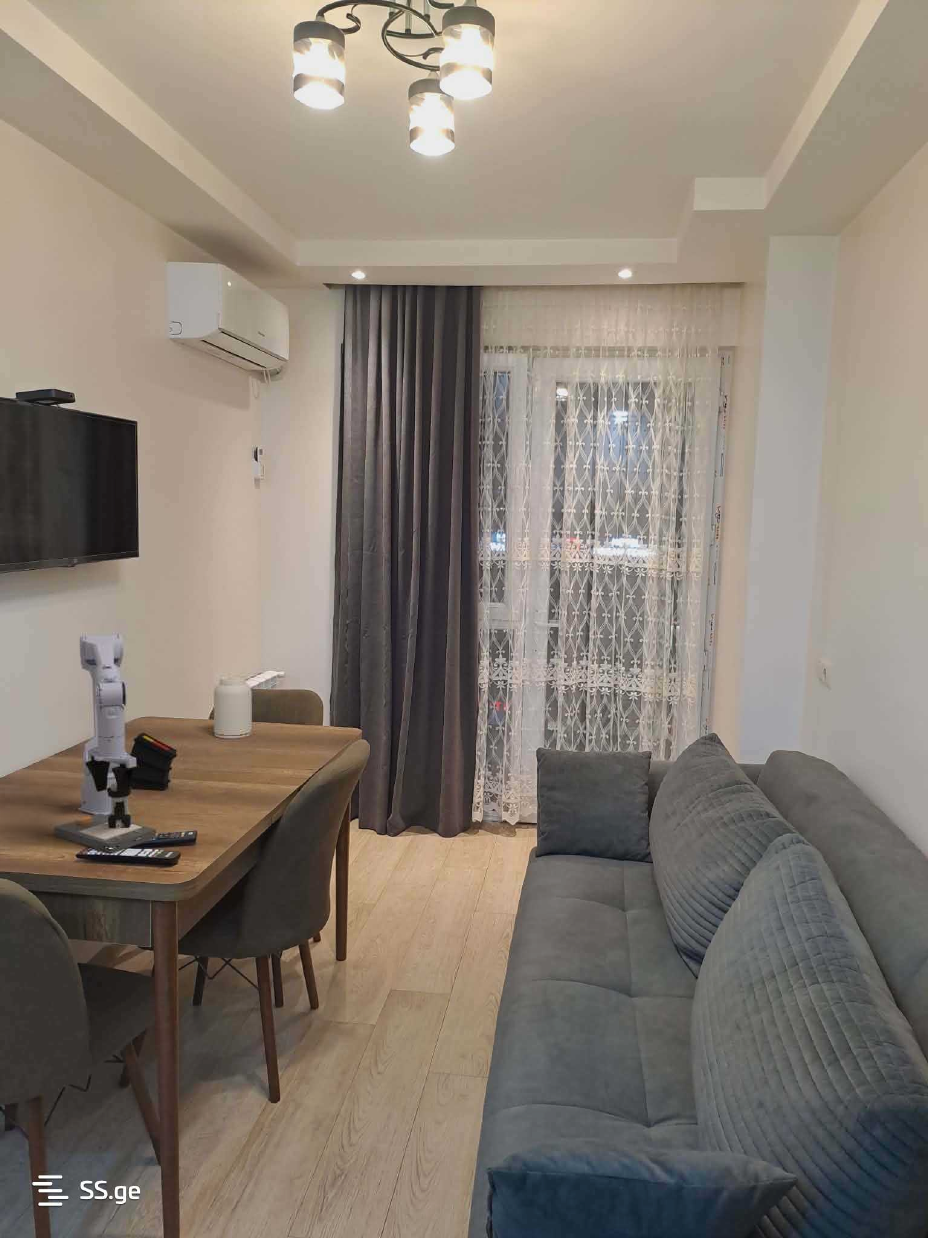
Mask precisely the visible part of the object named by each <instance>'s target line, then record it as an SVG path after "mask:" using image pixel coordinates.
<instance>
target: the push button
mask: <svg viewBox="0 0 928 1238" xmlns="http://www.w3.org/2000/svg"><path fill="white" fill-rule="evenodd" d="M132 790H133V789H132V787H131V786H130V789H129V793H128V796H125V797H122V798H120V797H118V793H117V784H116V783H113V784H111V787H109V788H107V792H108V796H109V797H111V812H110V814H109V815H108V816H109V818H108V820H102V821H101V822H108V824H102V825H101V826H109V828H129V827H130V825H131V822H132V814H131V813H130V811H129V808H128V807H129V804H128V803H129V796H130V795H131V794H132ZM115 799H116V801H115Z"/></svg>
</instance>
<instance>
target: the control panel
mask: <svg viewBox="0 0 928 1238" xmlns="http://www.w3.org/2000/svg"><path fill="white" fill-rule="evenodd" d="M109 816H110V815H104V814H100V813H99V814H96V815H94V814H92V815H89V816H88V815H87V816H83V817H80V818H77V819H75V820H74V821H70V822H67V823H64V824H63V823H62V824H59V825H56V826H54V827H53V828H54V836H55V837H58V838H61V839H65V840H68V841H71V842H74V843H76V844H80V845H82V846H86V847H89V848H93V849H95V850H97V851H101V852H104V853H108V854H114V853H117V852H119V851H122V850H126V849H129V848H132V847H134V846H136V845H140V844H143V843H145V842H148V841H151V840H153V839H156V838H157V830H156V828H152V827H149V826H145V825H141V824H138V823H136V822H135V823H134V822H132V821H131V825H130V827H129V828H109V826H101V825H102V824H108V822H101V821H102V820H108V818H109ZM138 838H142V839H139V840H136V839H138ZM134 840H136V841H134ZM132 841H133V842H132ZM96 844H101V845H103V846H107V847H116V846H119V847H116V848H113V849H109V848H106V847H103V846H99V845H96Z"/></svg>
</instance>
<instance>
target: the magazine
mask: <svg viewBox="0 0 928 1238" xmlns="http://www.w3.org/2000/svg"><path fill="white" fill-rule="evenodd" d="M133 742H134V744H133V746H132V748H131V752H130V753H129V755H130V756H132V757H134V758H136V765H138V769H137V771H136V773H135V774H134V776H133V779H132V782H131V785H130V786H131V787H132V790H148V791H150V790H151V791H165V790H167V789H168V788H169V784H170V783H171V781H172V779H169V778H170V777H169V776H170V771H172V769H173V767H171V765H172V763H173V761H174V759H175V758H177V756H178V754H177V752H178V750H177V749H176V748H173V747H172V746H169V745H168V744H165V743H164V742H162V741H160V740H158V739H157V738H154V737H152V736H151V735H148V733H145V732H141V733H139V734H137V736H136V737H135V738H134V739H133Z"/></svg>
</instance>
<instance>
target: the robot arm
mask: <svg viewBox="0 0 928 1238" xmlns="http://www.w3.org/2000/svg"><path fill="white" fill-rule="evenodd" d="M79 656H80V665H81V669H82V670H85V671H88V672H89V675H90V677H91V680H92V681H91V682H92V683H91V685H92V704H93V705H92V707H93V733H94V736H93V737H92V738H91V739H89V740H88V741H86V742H85V743H84V746H83V747H82V752H83V753H82V770H83V771H82V772H83V775H84V777H83V779H82V780H81V784H80V797H81V799H80V802H81V803H80V805H81V807H78V811H80V812H85V813H88V814H92V815H96V814H99V813H100V814H104V815H107V816H110V812H111V797H109V796H108V792H107V788H109V787H111V784H113V783H116V784H117V793H118V797H120V798H122V797H125V796H128V793H129V789H130V785H131V782H132V779H133V776H134V774H135V773H136V771H137V769H138V765H136V758H134V757H132V756H130V753H129V754H128V753H127V751H126V737H125V736H126V734H125V733H126V732H125V731H126V730H125V728H126V727H125V707H126V706H127V701H128V696H127V695H128V694H127V693H128V691H127V686H126V683H125V681H124V680H123V679H122V675H121V671H120V668H121V665H122V662H123V657H124V637H123V636H122V635H121V633H117V634H99V635H98V634H97V635H96V634H95V635H93V634H92V635H90V634H89V635H85V634H82V635H81V636H80V637H79ZM128 797H129V796H128ZM115 801H116V799H115ZM128 809H129V806H128Z"/></svg>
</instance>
